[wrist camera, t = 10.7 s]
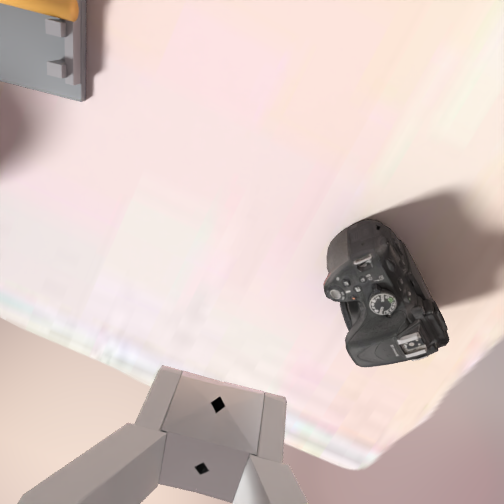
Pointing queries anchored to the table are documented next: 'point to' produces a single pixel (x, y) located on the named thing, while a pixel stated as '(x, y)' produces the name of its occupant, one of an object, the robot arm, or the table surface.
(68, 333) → the table surface
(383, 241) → the camera
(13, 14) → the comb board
